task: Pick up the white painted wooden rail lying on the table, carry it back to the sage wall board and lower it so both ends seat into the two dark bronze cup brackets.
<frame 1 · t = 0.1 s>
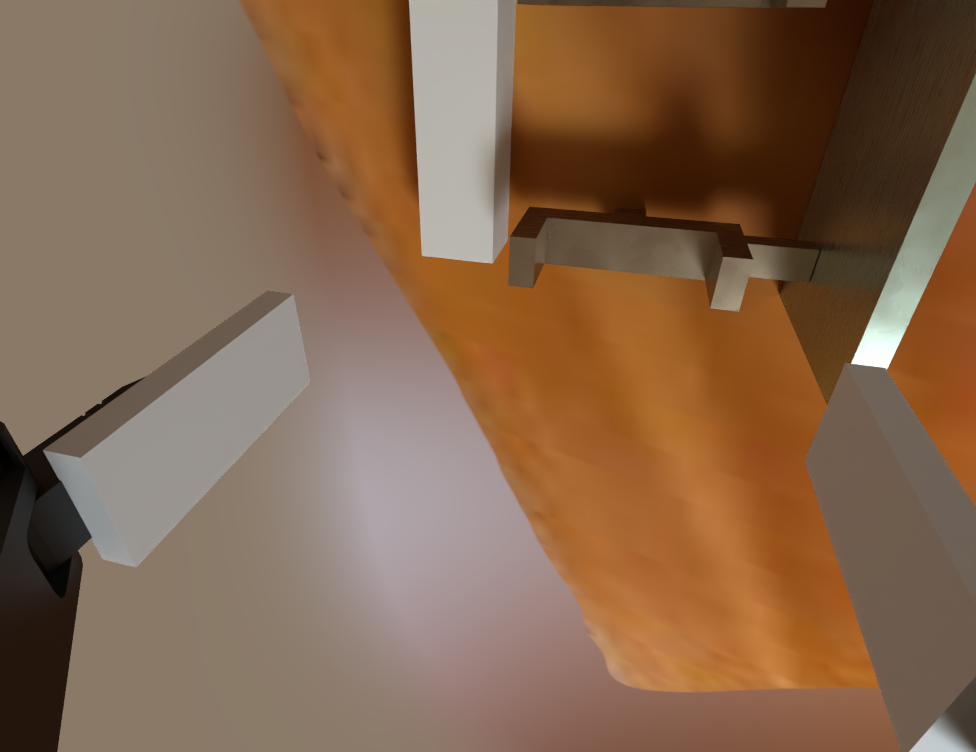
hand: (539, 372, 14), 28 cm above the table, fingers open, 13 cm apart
cup bracket: (645, 113, 35), on the table
rail: (476, 104, 37), on the table
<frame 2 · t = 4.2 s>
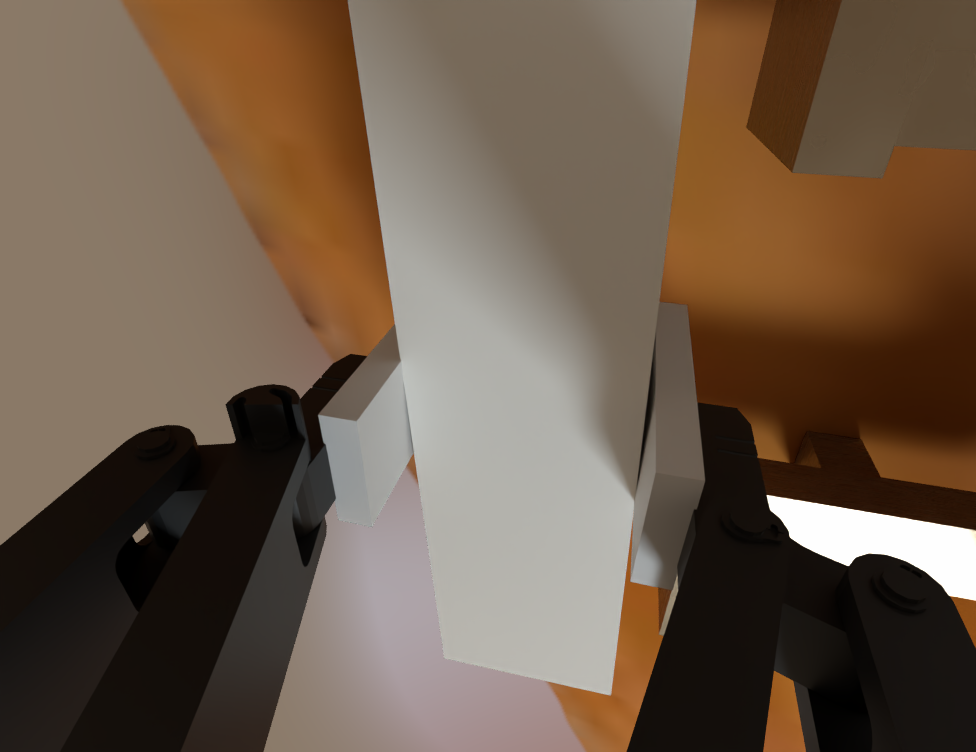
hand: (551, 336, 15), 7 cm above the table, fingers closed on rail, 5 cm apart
cup bracket: (892, 297, 19), on the table
rail: (555, 327, 16), point 6 cm above the table, touching gripper
when the fingers open (5 cm above the table, at t = 9.0 s): rail stays where it is, resting on cup bracket.
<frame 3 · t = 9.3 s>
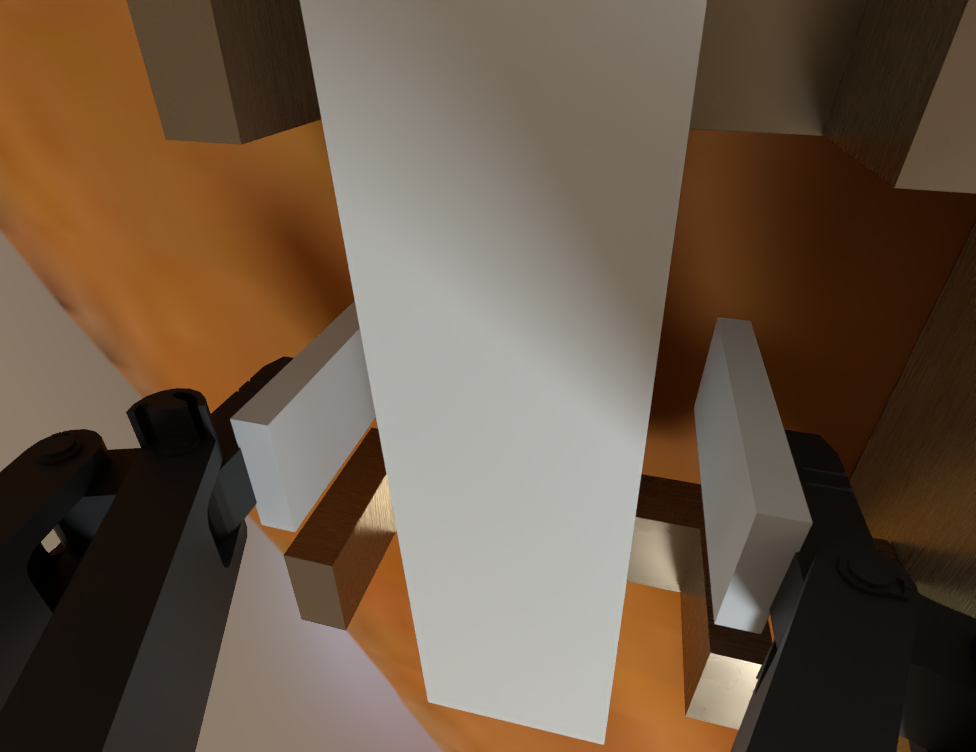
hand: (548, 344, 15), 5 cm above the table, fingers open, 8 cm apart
cup bracket: (570, 276, 19), on the table
rail: (546, 355, 15), point 5 cm above the table, touching cup bracket
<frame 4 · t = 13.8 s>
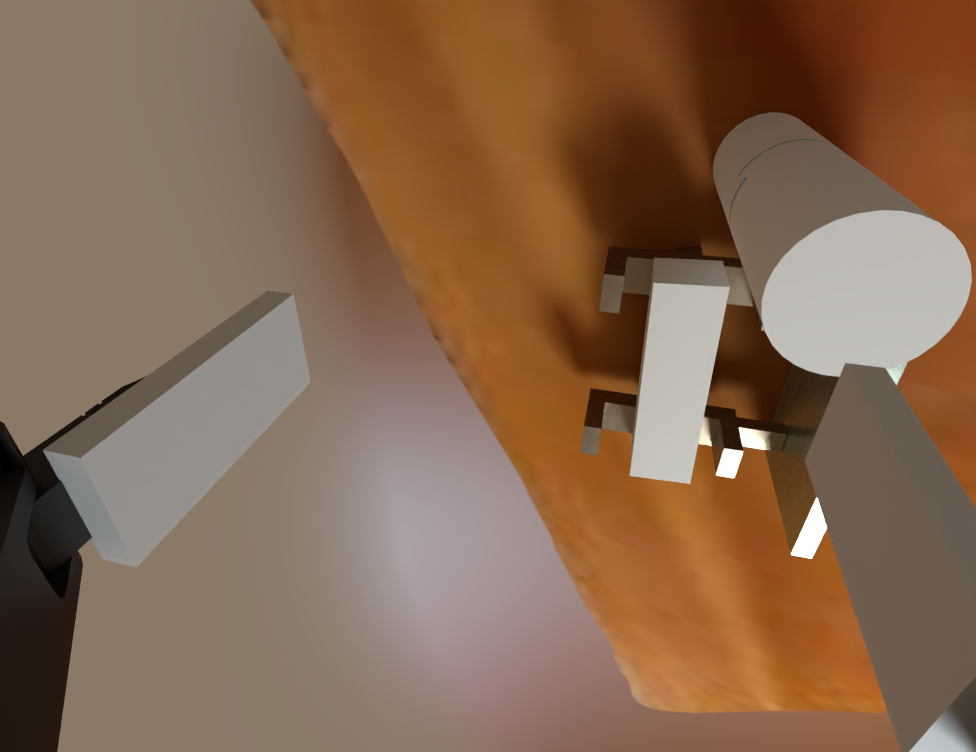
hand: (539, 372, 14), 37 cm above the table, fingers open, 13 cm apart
cylindrical container: (762, 163, 43), on the table
cup bracket: (671, 331, 52), on the table
rail: (672, 360, 48), point 5 cm above the table, touching cup bracket
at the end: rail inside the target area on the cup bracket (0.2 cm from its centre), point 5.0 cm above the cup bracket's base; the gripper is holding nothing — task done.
